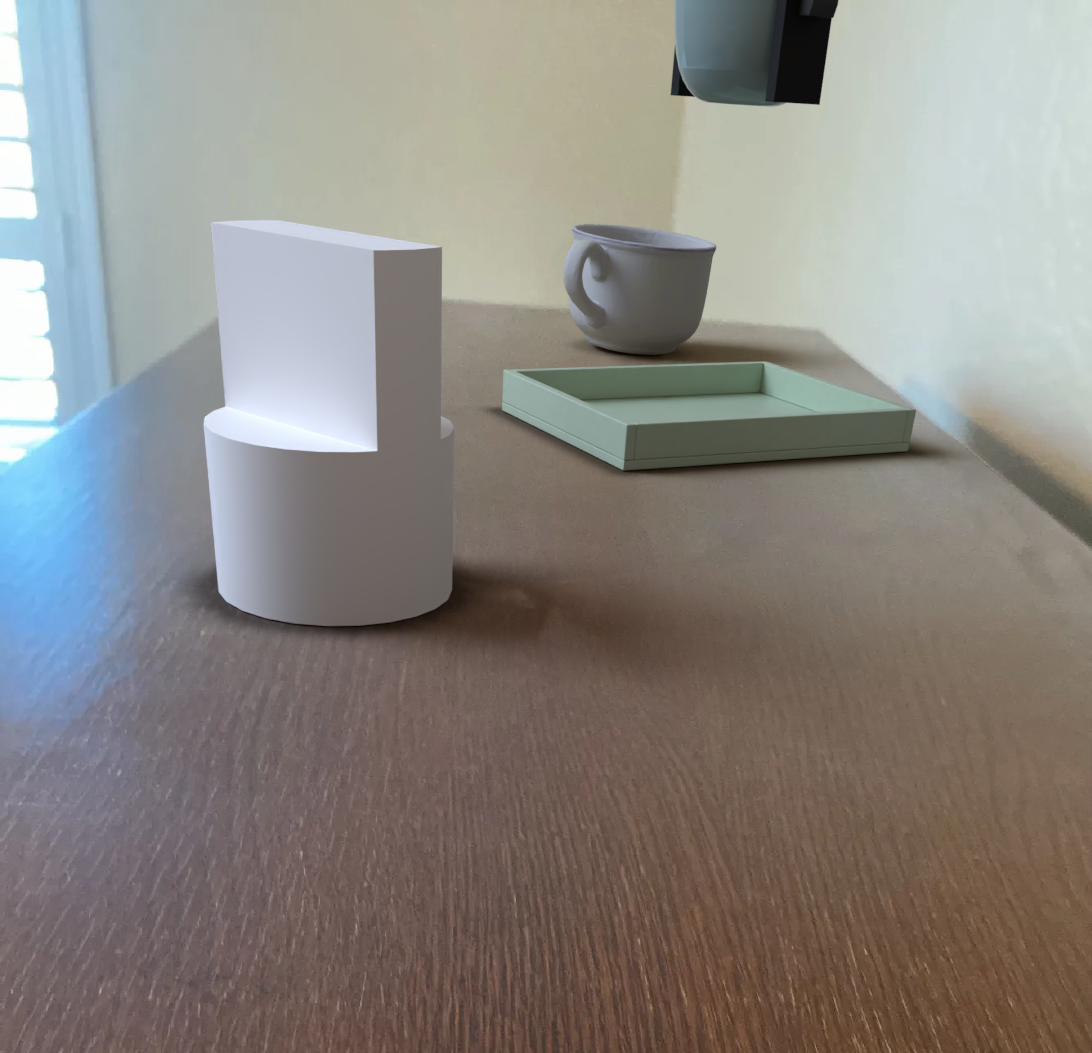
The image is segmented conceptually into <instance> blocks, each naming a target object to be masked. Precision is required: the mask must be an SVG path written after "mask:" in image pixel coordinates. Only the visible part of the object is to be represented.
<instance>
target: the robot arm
mask: <svg viewBox="0 0 1092 1053" xmlns="http://www.w3.org/2000/svg"><path fill="white" fill-rule="evenodd" d="M838 5H839V0H777V7H776V15H775V23H774V32H773V40H772V48H771V56H770V65H769V73H768V81H767V89H766V98H765V101H766V102H782V103H786V104H800V105H816V106H817V105H818V106H820V104H821V96H822V90H823V83H824V75H825V70H826V69H825V68H826V62H827V55H828V47H829V42H830V41H829V39H830V33H831V26H832V21H833V20H832V19H833V18H834V17H835V14H836V12H837V10H838V9H837V8H838ZM671 75H672V76H671V85H670V86H671V87H670V96H674V97H675V96H676V97H689V98H690V97H692V98H693V97H694V98H696V97H695V96H694V95H692V93H691V92H690V91H689V90H688V89H687V87H686V85H685V84H684V82H683V80H682V77H681V74H680V71H679V68H678V62H677V57H676V47H675V46H674V52H673V64H672V74H671Z"/></svg>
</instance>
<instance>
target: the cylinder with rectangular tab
mask: <svg viewBox="0 0 1092 1053" xmlns="http://www.w3.org/2000/svg"><path fill="white" fill-rule="evenodd" d="M210 230H211V231H210V232H211V243H212V244H211V246H212V257H213V258H212V259H213V270H214V282H215V283H214V284H215V293H216V294H215V295H216V307H217V321H218V331H219V344H220V345H219V346H220V356H221V369H222V370H221V371H222V382H223V395H224V406H223V407H220V408H217V409H214V410H212V411H211V412H209V413H208V414H207V415H205V416H204V418H203V434H204V445H205V456H206V466H207V478H208V490H209V501H210V511H211V512H210V513H211V524H212V532H213V544H214V555H215V565H216V566H215V568H216V578H217V589H218V590H217V591H218V593H219V595H220V596H221V597H222V599H224V601H225V602H226V603H227V604H229V605H231V606H233V607H236V608H237V609H238V610H240V611H242V612H244V613H248V614H251V615H254V616H258V617H260V618H264V619H268V620H273V621H278V622H284V623H289V624H294V625H295V624H296V625H308V626H309V625H310V626H323V627H347V626H348V627H352V626H353V627H355V626H356V627H357V626H359V627H360V626H367V625H377V624H387V623H394V622H397V621H402V620H407V619H411V618H416V617H418V616H421V615H423V614H426V613H429V612H431V611H434V610H436V609H437V608H439V607H440V606H442V605H443V604H444V603H446V602H447V601H448V600H449V598H450V596H451V593H452V591H453V559H454V558H453V556H454V555H453V554H454V553H453V552H454V551H453V549H454V547H453V546H454V473H455V472H454V471H455V470H454V467H455V464H454V462H455V459H454V458H455V427H454V425H453V423H452V422H451V420H449V419H448V418H446V417H445V416H442V331H443V330H442V322H443V321H442V318H443V316H442V314H443V312H442V311H443V307H442V306H443V303H442V302H443V297H442V296H443V246H440V245H434V244H429V243H422V242H415V241H409V240H404V239H397V238H391V237H385V236H378V235H372V234H367V233H366V234H365V233H360V232H355V231H348V230H341V229H335V228H329V227H323V226H317V225H312V224H311V225H310V224H305V223H300V222H299V223H298V222H293V221H286V220H280V219H252V220H251V219H249V220H248V219H247V220H246V219H242V220H221V221H211V222H210Z"/></svg>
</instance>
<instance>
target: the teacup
mask: <svg viewBox="0 0 1092 1053" xmlns="http://www.w3.org/2000/svg"><path fill="white" fill-rule="evenodd" d="M571 232H572V236H573V237H572V239H573V240H572V245H571V247H570V248H569V249H568V252H567V254H566V257H565V259H564V264H563V272H562V273H563V275H562V276H563V285H564V288H565V291H566V293H567V295H568V309H569V313H570V317H571V319H572V321H573V322H574V324H575V325H576V326H577V328H578V329H579V330H580V331H581V332H582V333H583V335H584V338H585V339H586V340H587V342H588V343H589V344H591V345H593V346H596V347H600V348H602V349H606V350H608V351H614V352H618V353H626V354H632V355H646V356H649V355H650V356H660V355H661V356H662V355H668V354H671V353H672V352H674V351H676V349H677V348H678V347H679V346H680V345H682V344H684V342H686V341H688V340H689V339H691V338H692V336H693V335H694V334H695V333H696V332H697V330H698V328H699V327H700V323H701V320H702V318H703V313H704V309H705V304H706V300H707V294H708V288H709V282H710V277H711V272H712V265H713V258H714V255H715V253H716V250H717V245H716V244H715V243H713V242H712V241H710V240H707V239H703V238H700V237H697V236H693V235H688V234H683V233H678V232H674V231H673V232H672V231H667V230H660V229H653V228H647V227H646V228H645V227H641V226H640V227H638V226H628V225H619V224H601V223H597V224H595V223H583V224H575V225H574V226H572V230H571Z"/></svg>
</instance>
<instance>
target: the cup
mask: <svg viewBox="0 0 1092 1053" xmlns="http://www.w3.org/2000/svg"><path fill="white" fill-rule="evenodd" d="M673 4H674V6H673V8H674V10H673V12H674V13H673V21H674V22H673V26H674V27H673V28H674V48H675V47H676V57H677V62H678V68H679V71H680V74H681V77H682V80H683V82H684V84H685V85H686V87H687V89H688V90H689V91H690V92H691V93H692V95H694V96H695V97H694V98H696V99H697V100H699V101H701V102H704V103H708V104H718V105H720V104H721V105H734V106H735V105H736V106H749V107H765V108H766V107H768V108H776V107H780V106H783V105H787V103H782V102H766V101H765V98H766V89H767V81H768V73H769V65H770V56H771V48H772V40H773V32H774V23H775V15H776V7H777V0H674V3H673Z"/></svg>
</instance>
